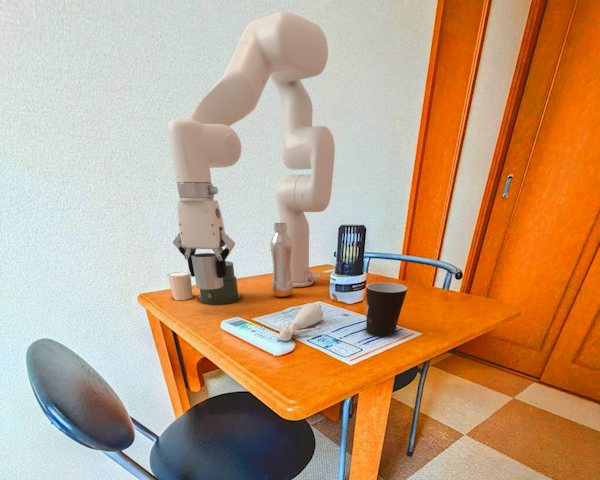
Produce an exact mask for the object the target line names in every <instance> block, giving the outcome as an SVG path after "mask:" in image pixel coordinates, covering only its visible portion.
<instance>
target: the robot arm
mask: <svg viewBox="0 0 600 480" xmlns="http://www.w3.org/2000/svg"><path fill="white" fill-rule="evenodd" d="M328 58H329V45H328V40H327V36H326V35H325V32H324V30H323V29H322V27H321V26H320V25H318V23H315V22H313V21H311V20H309V19H307V18H305V17H302V16H299V15H297V14H295V13H293V12H289V11H278V12H275V13H272V14H269V15H266V16H264V17H260V18H258V19H255V20H253V21H251V22H250V23H249V24H247V25H246V27H245V29H244V30H243V32H242V34H241V35H240V38H239V40H238V42H237V45H236V47H235V49H234V51H233V54H232V56H231V57H230V60H229V62H228V64H227V67H226V69H225V71H224V73H223V75H222V76H221V77H220V78H219V79H218V80H217V81H216V82H215V83H214V85H213V86H212V87H211V88H210V90H209V91H208V92H207V93H206V94H205V95H204V96H203V97H202V98H201V99H200V100H199V102H198V103H197V105H196V106H195V108H194V109H193V110H192V113H191V114H190V117H189V119H188V118H176V119H171V120H169V121H168V122H167V125H166V130H167V136H168V143H169V148H170V153H171V159H172V164H173V165H172V166H173V170H174V175H175V181H176V187H177V192H178V200H177V203H176V204H177V209H176V210H177V223H178V230H179V232H178V233H177V235H176V236H175V238H174V239H173V240H172V244H173V245H174V246H175V247H176V249H177V250H178V251H179V253H180V254H182V256H183V257H184V259H185V260H186V261H187V265H188V266H187V267H188V271H189V273H190V275H191V278H193V277H194V278H195V275H194V269H193V264H192V258H191V255H194V254H196V252H197V250H212V251H213V253H215V255H216V257H217V259H218V261H216V265H217V272H218V277H219V278H223V277H225V276H226V272H227V271H226V262H225V261H226V260H227V259H228V256H229V255H230V254H231V253H232V250H233V249H234V247H235V246H236V242H235V241H234V240H233V238H231V237H230V236H229V235H228V234H227V233H226V231H225V230H226V229H225V224H224V219H223V215H222V212H221V208H220V205H219V201H218V200H215V199H214V198H215V195H218V194H219V189H218V187H217V186H214V185H213V183H212V176H211V169H213V168H214V169H215V168H219V169H220V168H229V167H232V166H234V165H236V164H237V162H238V161H239V160H240V158H241V156H242V143H241V139H240V137H239V135H238V134H237V132H236V131H235V129H234V128H232V127H231V126H232V125H234V124H236V123H238V122H240V121H241V120H243V119H244V118H246V117H247V116H248V115H250V114H251V113H252V112H253V111H255V109H256V108H257V106H258V103H259V101H260V99H261V96H262V95H263V92H264V90H265V87H266V85H267V83H268V82H269V78H270V79H271V81H272V83H273V85H274V88H275V89H276V91H277V93H278V96H279V99H280V103H281V108H282V128H281V131H282V132H281V158H282V162H283V165H284V167H285V168H287V169H290V170H293V171H294V170H295V171H297V170H298V171H299V170H300V171H301V170H311V173H310V174H289V175H285V176H283V177H281V178H280V179H279V180H278V182H277V183H276V187H275V199H276V204H277V209H278V215H279V223H286V224H287V231H286V233H287V235H288V236H289V238H290V240H291V242H292V250H291V263H290V270H291V280H292V285H293V288H304V287H309V286H311V285H313V284H314V280H315V281H321V280H322V274H321V273H319V272H312V269H311V268H310V225H309V221H308V219H307V217H306V214H305V213H322V212H324V211H326V210H327V208H328V207H329V205H330V201H331V196H332V186H333V177H334V166H335V153H336V149H335V146H336V145H335V140H334V136H333V134H332V131H331V129H329V128H328V127H327V126H325V125H313V103H312V99H311V97H310V94H309V92H308V91H307V89H306V87H305V85H304V83H303V82H302V80H305V79H311V78H314V77H318V76H319V75H321V74H322V73H323V72H324V70H325V68H326V66H327V62H328ZM223 247H225V248H223Z"/></svg>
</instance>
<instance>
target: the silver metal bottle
mask: <svg viewBox="0 0 600 480" xmlns="http://www.w3.org/2000/svg"><path fill="white" fill-rule="evenodd" d="M273 231H274V234H273V235H272V237H271V240H270V243H269V248H270V254H271V261H272V282H271V290H272V294H273V295H274V296H275V297H280V298H281V297H283V298H284V297H289V296H291V295H292V293H293V290H294V289H293V288H294V287H293V285H292V280H291V270H290V263H291V250H292V242H291V240H290V238H289V236H288V235H287V233H286V231H287V224H286V223H280V222H274V223H273Z"/></svg>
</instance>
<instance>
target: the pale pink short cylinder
mask: <svg viewBox="0 0 600 480" xmlns="http://www.w3.org/2000/svg"><path fill="white" fill-rule="evenodd" d="M166 278H167V281H168V284H169V287H170V290H171V293H172V297H173V299H174V300H175V301H186V300H191V299H193V298H194V297H193V295H194V294H193V285H192V276H191V273H190V272H188V271H187V272H186V271H176V272H175V271H174V272H170V273H167V274H166Z"/></svg>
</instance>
